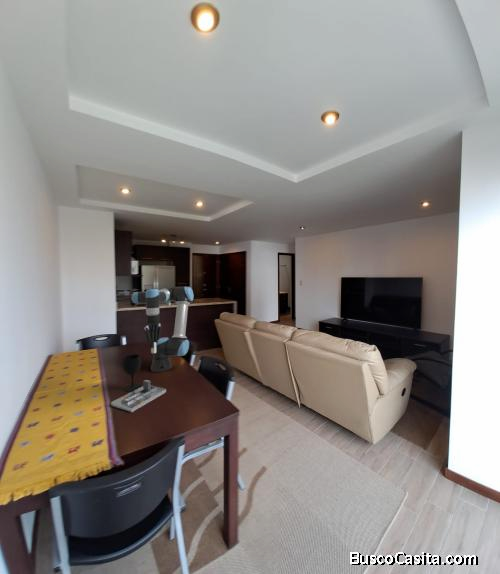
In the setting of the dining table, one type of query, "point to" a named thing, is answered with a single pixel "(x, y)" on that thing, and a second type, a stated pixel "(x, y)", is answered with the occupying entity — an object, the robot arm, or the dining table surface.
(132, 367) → the wine glass
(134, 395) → the console
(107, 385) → the dining table surface
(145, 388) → the fader knob
